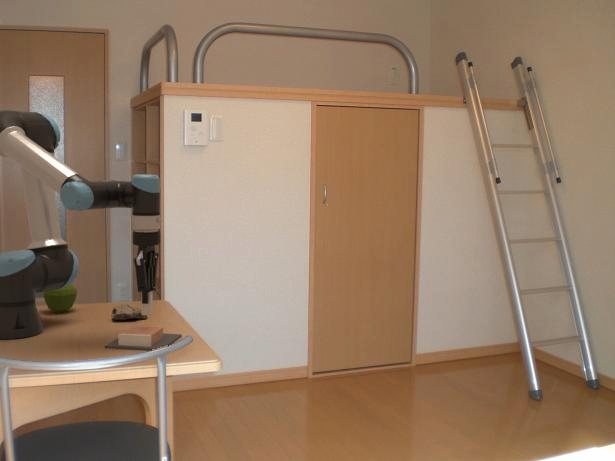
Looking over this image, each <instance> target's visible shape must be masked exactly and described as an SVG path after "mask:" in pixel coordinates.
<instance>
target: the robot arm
mask: <svg viewBox="0 0 615 461" xmlns="http://www.w3.org/2000/svg"><path fill="white" fill-rule="evenodd" d="M57 123H58V122H56V120H55V119H54V118H52V117H51V116H50V115H48V114H46V113H40V112H37V111H18V110H11V109H10V110H8V109H4V110H0V157H3V158H9V159H10V160H12V161H14V162H15V163H16V164H18V165H19V166H20V172H21V177H22V178H21V179H22V185H23V191H24V192H23V193H24V198H25V206H26V213H27V214H26V215H27V219H28V227H29V232H30V241H31V243H30V244H29V245H28V246H27V248H26V249H17V250H9V251H5V252H4V251H3V252H1V253H0V340H11V339H13V340H14V339H23V338H29V337H33V336H37V335H38V334H39V335H40V334H41V333H42V332H43V321H42V320H41V316H40V314H39V311H38V308H37V304H36V294H37V293H43V292H44V291H48V290H54V289H60V288H62V287H66V286H69V285H70V284H71V285H73V283H74V282H75V280H76V279H77V276H78V274H79V271H80V270H79V269H80V263H79V259H78V257H77V255H76V254H75V252H74V251H72V250H71V249H69V247H68V245H69V244H68V242H66V240H64V239H63V238H62V234H61V227H60V219H59V213H58V204H57V200H56V199H57V198H56V193H57V194H58V195H59V199H60V202H61V203H62V205H63V206H64V208H66V209H67V210H69V211H78V212H81V211H82V212H83V211H88V210H102V209H103V210H104V209H118V208H121V209H123V208H124V209H125V208H126V209H132V210H131V212H132V213H131V214H132V215H131V217H132V219H131V223H132V224H131V225H132V226H131V229H133V230H134V231H133V232H132V244H133V245H134V246H137V247H138V248H137V249H138V250H137V253H136V255H137V256H136V257H134V258H133V263H134V267H135V275H136V284H137V286H136V287H137V292H140V294H141V297H140V298H141V299H140V302H141V304H140V306H141V308H140V309H141V315H147V316H152V315H153V314H154V313H153V310H154V308H153V307H154V306H153V304H154V303H153V291H156V289H157V288H156V284H157V283H156V282H157V272H158V271H157V270H158V260H159V255H160V254H159V252H156V246H159V245H160V244H161V231H160V229H161V223H162V221H163V219H162V218H161V183H160V182H161V179H160V177H159V175H157V174H134V175H132V178H131V180H130V181H127V180H116V179H113V180H111V179H108V180H100V181H99V180H97V181H95V180H94V181H92V180H91V181H90V180H88V179H87V178H85V177H84V176H82V175H81V174H80V173H78V172H76V170H74V169H73V168H71V167H69V166H68V165H67V164H65V163H64V162H63V161H61V160H60V159H59V158H58V157H55V150H56V149H57V148H58V147H59V145H60V143H59V142H60V141H61V131H60V128H59V125H58V124H57Z"/></svg>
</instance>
